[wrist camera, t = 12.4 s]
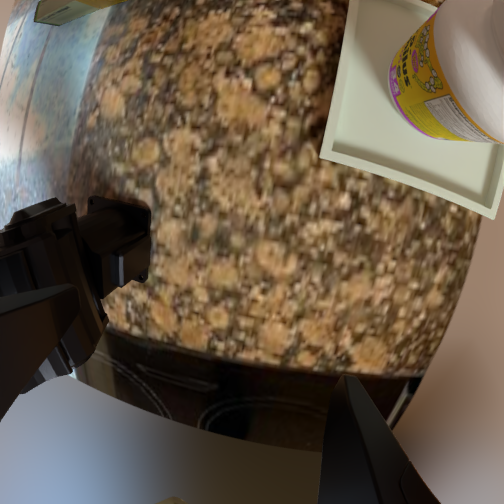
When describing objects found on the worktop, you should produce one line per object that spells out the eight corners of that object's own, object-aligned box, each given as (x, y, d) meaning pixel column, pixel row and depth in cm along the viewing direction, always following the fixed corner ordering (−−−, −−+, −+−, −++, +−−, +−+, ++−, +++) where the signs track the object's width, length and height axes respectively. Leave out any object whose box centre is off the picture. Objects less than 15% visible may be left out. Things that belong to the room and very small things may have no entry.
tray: (319, 156, 18) (319, 157, 16) (351, -11, 13) (353, -22, 11) (483, 214, 16) (494, 220, 15) (508, 59, 11) (518, 55, 10)
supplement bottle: (409, 28, 12) (496, -73, 1) (484, 90, 13) (616, 71, 1) (366, 98, 15) (454, 23, 3) (445, 161, 15) (590, 204, 4)
